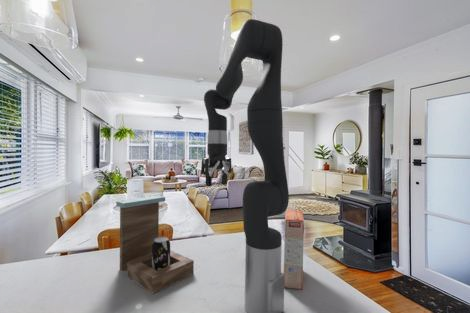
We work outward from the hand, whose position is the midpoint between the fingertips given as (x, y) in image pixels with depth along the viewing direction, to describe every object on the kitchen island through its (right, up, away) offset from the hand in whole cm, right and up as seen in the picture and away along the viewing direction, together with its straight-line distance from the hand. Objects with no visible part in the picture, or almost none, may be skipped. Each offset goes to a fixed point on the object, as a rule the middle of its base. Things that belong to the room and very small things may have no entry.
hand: (216, 185), depth 92 cm
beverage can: (-17, -28, -13) cm, 36 cm away
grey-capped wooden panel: (-28, -28, -5) cm, 39 cm away
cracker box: (+26, -29, -13) cm, 41 cm away
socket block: (-17, -28, -13) cm, 35 cm away
